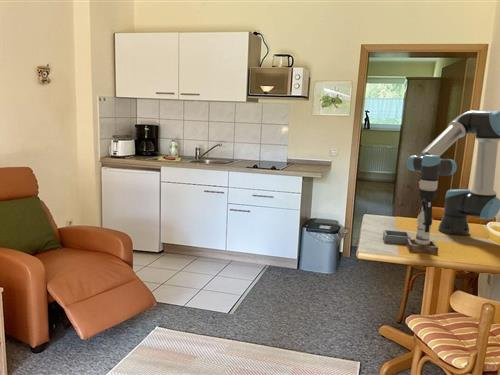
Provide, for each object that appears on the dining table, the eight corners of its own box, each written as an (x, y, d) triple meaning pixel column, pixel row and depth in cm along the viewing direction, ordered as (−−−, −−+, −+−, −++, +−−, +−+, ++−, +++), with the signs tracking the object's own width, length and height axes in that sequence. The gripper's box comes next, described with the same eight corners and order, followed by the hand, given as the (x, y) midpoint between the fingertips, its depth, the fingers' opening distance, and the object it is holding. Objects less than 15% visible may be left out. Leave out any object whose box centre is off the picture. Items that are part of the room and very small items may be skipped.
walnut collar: (432, 247, 210) (433, 240, 210) (437, 254, 199) (438, 247, 199) (406, 244, 212) (406, 238, 212) (409, 251, 202) (410, 244, 201)
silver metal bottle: (415, 246, 210) (419, 204, 207) (430, 248, 207) (435, 206, 204) (412, 249, 205) (416, 206, 202) (428, 252, 202) (432, 208, 198)
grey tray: (407, 238, 223) (407, 231, 222) (410, 244, 213) (410, 237, 212) (382, 236, 225) (383, 229, 225) (384, 242, 215) (385, 235, 214)
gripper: (415, 184, 214) (410, 227, 218) (423, 193, 190) (418, 241, 194) (431, 185, 213) (426, 229, 216) (442, 194, 189) (437, 243, 192)
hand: (422, 235), depth 205 cm, fingers open, 13 cm apart
